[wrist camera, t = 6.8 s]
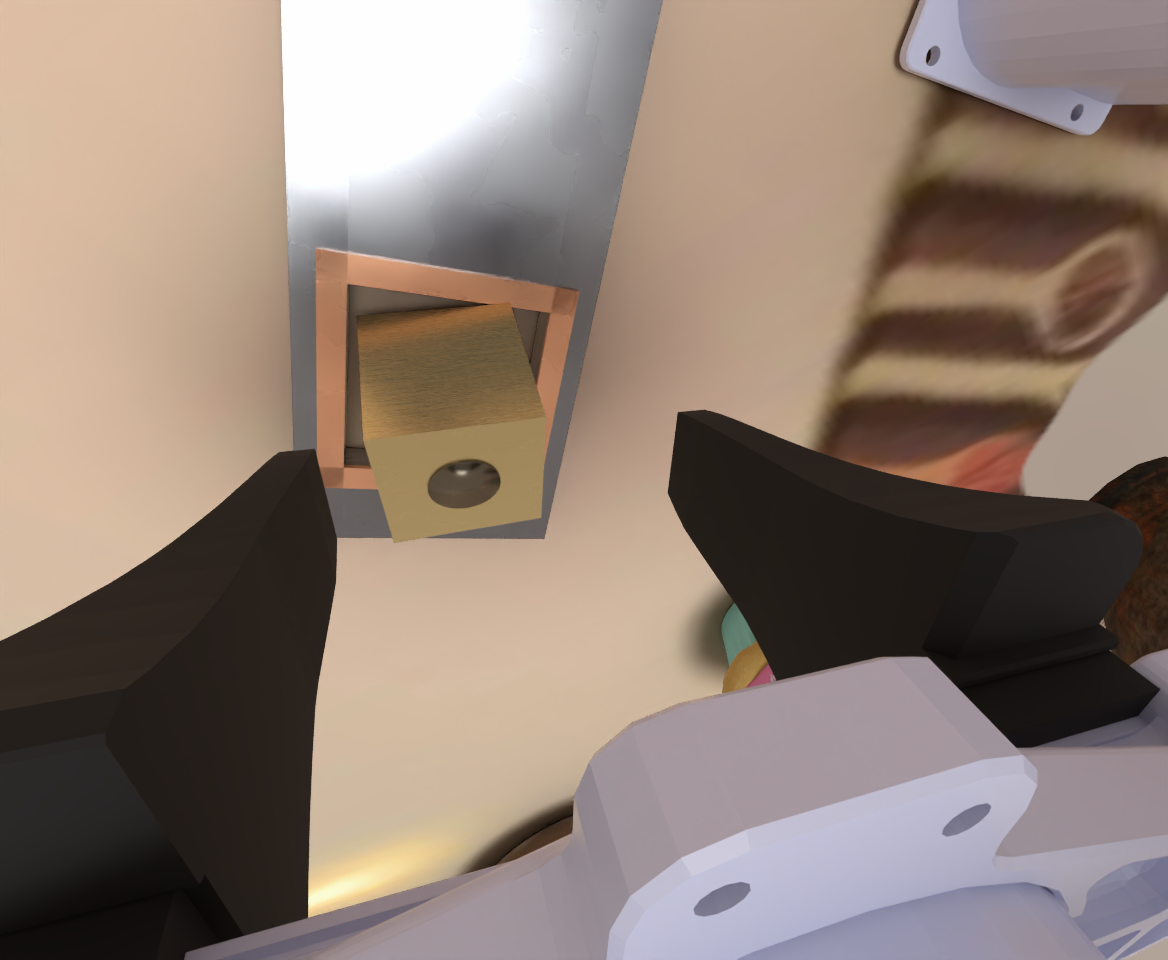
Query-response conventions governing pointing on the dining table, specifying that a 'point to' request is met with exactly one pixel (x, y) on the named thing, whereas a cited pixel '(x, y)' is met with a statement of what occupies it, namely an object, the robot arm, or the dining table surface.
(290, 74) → the rail
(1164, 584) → the pitcher
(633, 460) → the dining table surface
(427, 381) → the brass cube with hole
